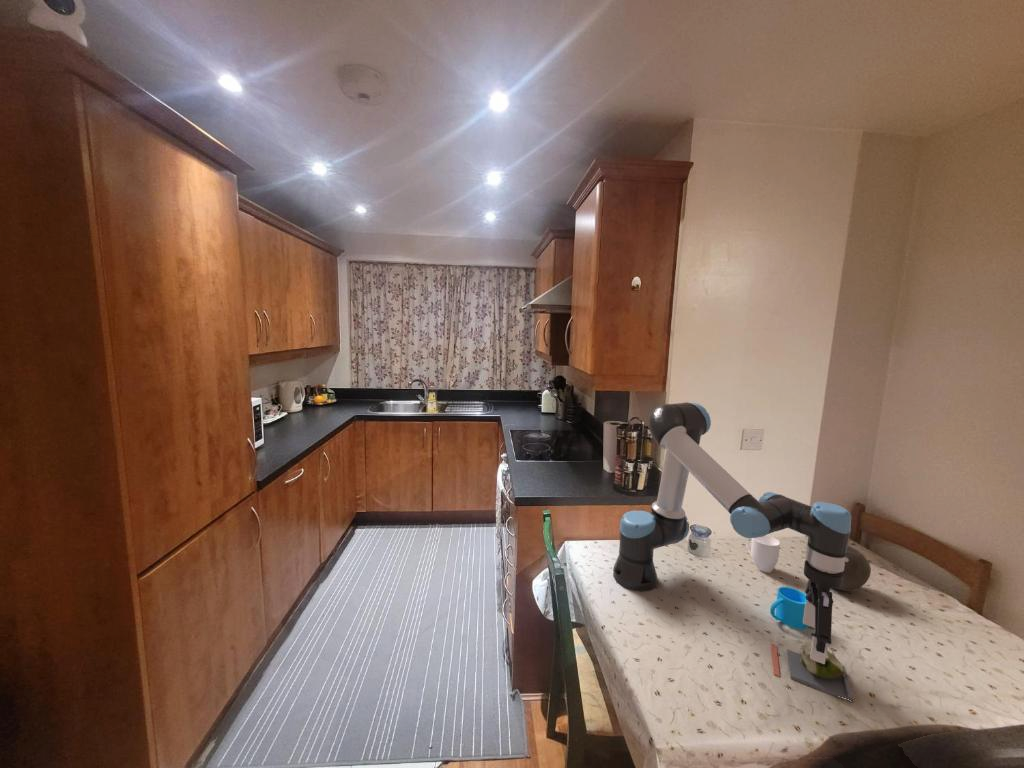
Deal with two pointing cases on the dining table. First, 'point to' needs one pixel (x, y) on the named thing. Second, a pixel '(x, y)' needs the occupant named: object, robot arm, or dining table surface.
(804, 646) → the fruit
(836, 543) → the robot arm
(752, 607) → the dining table surface
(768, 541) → the mug
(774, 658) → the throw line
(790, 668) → the mat
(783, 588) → the mug
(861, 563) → the dark grey round stone
